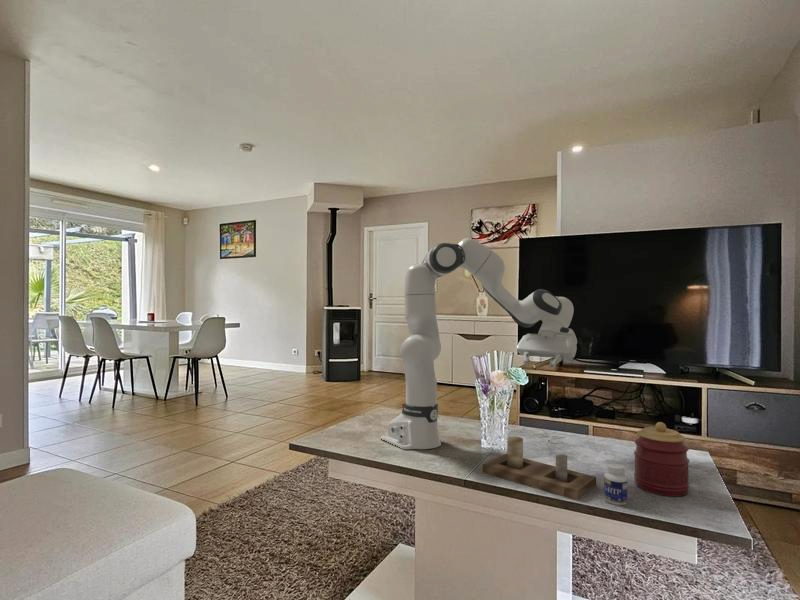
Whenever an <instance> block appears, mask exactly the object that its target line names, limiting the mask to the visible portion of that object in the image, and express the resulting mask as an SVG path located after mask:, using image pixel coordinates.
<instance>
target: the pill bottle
mask: <svg viewBox="0 0 800 600" xmlns="http://www.w3.org/2000/svg"><path fill="white" fill-rule="evenodd" d="M606 466H607V467H606V470H607V471H606V472H605V473H604V474H603V475H604V478H603V479H604V481H603V485H604V487H603V498H604V500H605V502H607V503H609V504H613V505H615V506H625V505H626V504H628V477H627V475H625V473H626V472H625V471H626V469H625V467H626V466H625V465H623V464H621V463H620V464H619V463H615V462H611V463H607V465H606Z"/></svg>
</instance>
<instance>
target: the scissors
mask: <svg viewBox="0 0 800 600" xmlns="http://www.w3.org/2000/svg"><path fill="white" fill-rule="evenodd" d="M557 436H558V437H553V438H552V439H550V440H551V441H548V440H549V439H547V440H545V441H546V442H547V441H548V442H547V443H549V442H551V443H550V444H557V443H558V442H557V441H556V440H555V438H559V439H561V437H562V436H560V435H557ZM553 439H554V440H553ZM553 441H554V442H553Z"/></svg>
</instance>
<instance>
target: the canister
mask: <svg viewBox="0 0 800 600" xmlns="http://www.w3.org/2000/svg"><path fill="white" fill-rule="evenodd" d="M636 434H637V435H638V437H636V438H634V440H633V442H634V443H635V445H636V446H635V450H634V451H633V454H634V473H633V478H634V483H635V485H636V486H637V487H638V488H640V489H642V490H643V491H646V492H649V493H652V494H655V495H661V496H667V497H683V496H686V495H687V494H688V493H689V489H690V482H689V463H690V459H689V458H688V453H687V452H688V451H690V447H689V445H688V444H686V443H685V441H686V437H685V436H683V435H682V434H681V433H680V432H679V431H677V430H675V429H670V428H668V427H667V425H666V423H664V422H662V421H657V423H656V424H655V426H645V427H643V428H642V429H640V430H638V431H637V433H636Z"/></svg>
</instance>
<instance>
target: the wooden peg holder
mask: <svg viewBox="0 0 800 600" xmlns="http://www.w3.org/2000/svg"><path fill="white" fill-rule="evenodd" d="M481 470H482V473H485V474H487V475H491V476H495V477H498V478H501V479H505V480H508V481H511V482H515V483H518V484H521V485H524V486H527V487H531V488H535V489H538V490H541V491H544V492H548V493H551V494H555V495H558V496H562V497H565V498H568V499H571V500H574V501H579V500H580V499H581V498H583V497H584V496H586V495H587V494H588V493H590V492H591V491H592V490H594V489H595V488H596V487H597V476H595V475H592V474H587V473H583V472H580V471H575V470H572V469H569V468H568V456H567V455H566V454H560V453H559V454H555V465H551V464H547V463H544V462H540V461H536V460H532V459H528V458H524V457H523V469H521V470H518V469H515V468H511V467H507V453H503V454H502V455H498V456H496V457H494V458H492V459H490V460H488V461H485V462H483V463H482V469H481Z"/></svg>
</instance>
